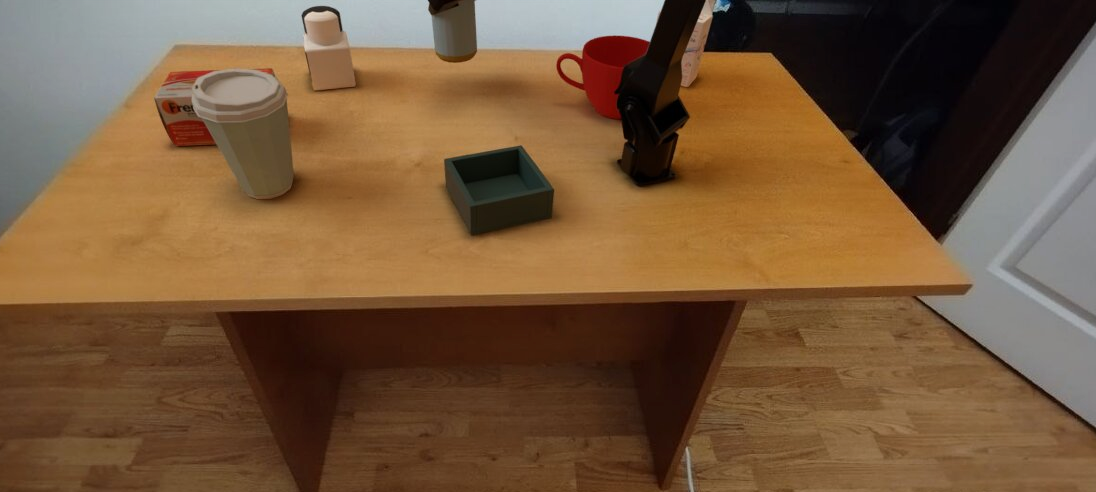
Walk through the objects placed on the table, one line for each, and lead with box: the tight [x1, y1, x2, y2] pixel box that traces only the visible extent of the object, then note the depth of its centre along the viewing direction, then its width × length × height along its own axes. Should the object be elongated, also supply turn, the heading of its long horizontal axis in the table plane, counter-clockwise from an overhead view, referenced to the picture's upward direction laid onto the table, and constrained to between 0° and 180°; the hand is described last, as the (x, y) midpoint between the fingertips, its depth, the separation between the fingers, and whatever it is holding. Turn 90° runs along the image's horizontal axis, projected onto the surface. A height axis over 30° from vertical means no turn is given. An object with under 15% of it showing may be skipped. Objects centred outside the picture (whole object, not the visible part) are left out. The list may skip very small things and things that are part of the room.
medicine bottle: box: [301, 5, 356, 91], centre depth 97 cm, size 7×7×12 cm
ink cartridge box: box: [655, 0, 717, 88], centre depth 103 cm, size 9×5×15 cm, turn 58°
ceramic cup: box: [555, 35, 650, 120], centre depth 94 cm, size 13×17×10 cm
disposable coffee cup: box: [192, 67, 295, 200], centre depth 73 cm, size 11×11×15 cm
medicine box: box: [153, 67, 276, 147], centre depth 85 cm, size 15×8×8 cm, turn 99°
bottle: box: [431, 0, 478, 64], centre depth 92 cm, size 7×7×15 cm
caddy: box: [443, 144, 555, 236], centre depth 76 cm, size 11×11×4 cm
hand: (446, 6), depth 93 cm, fingers closed on bottle, 7 cm apart
